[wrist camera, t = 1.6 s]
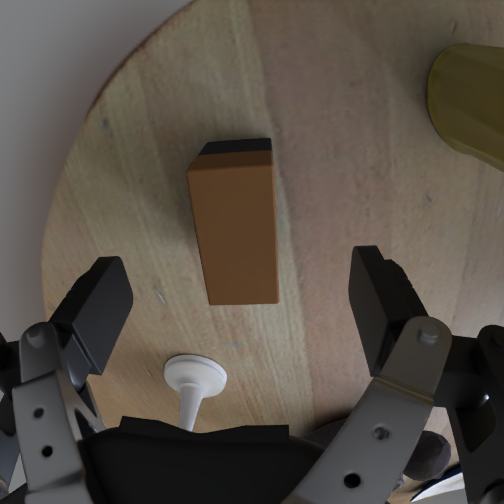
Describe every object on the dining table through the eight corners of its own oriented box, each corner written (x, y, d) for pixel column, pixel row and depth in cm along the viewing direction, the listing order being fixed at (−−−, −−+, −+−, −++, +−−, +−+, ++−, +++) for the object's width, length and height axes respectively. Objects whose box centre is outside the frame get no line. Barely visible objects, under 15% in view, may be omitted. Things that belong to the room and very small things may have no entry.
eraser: (206, 142, 14) (185, 170, 11) (270, 137, 14) (273, 164, 10) (220, 251, 18) (209, 306, 14) (276, 249, 17) (279, 304, 14)
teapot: (412, 442, 32) (427, 508, 23) (294, 457, 33) (296, 531, 24) (476, 346, 22) (518, 440, 13) (305, 368, 23) (314, 494, 14)
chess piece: (219, 396, 25) (207, 505, 17) (162, 382, 24) (136, 490, 16) (233, 363, 23) (221, 492, 14) (167, 347, 22) (134, 473, 13)
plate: (402, 494, 50) (403, 504, 48) (460, 458, 39) (463, 470, 37) (461, 480, 52) (463, 488, 49) (516, 442, 41) (519, 451, 39)
